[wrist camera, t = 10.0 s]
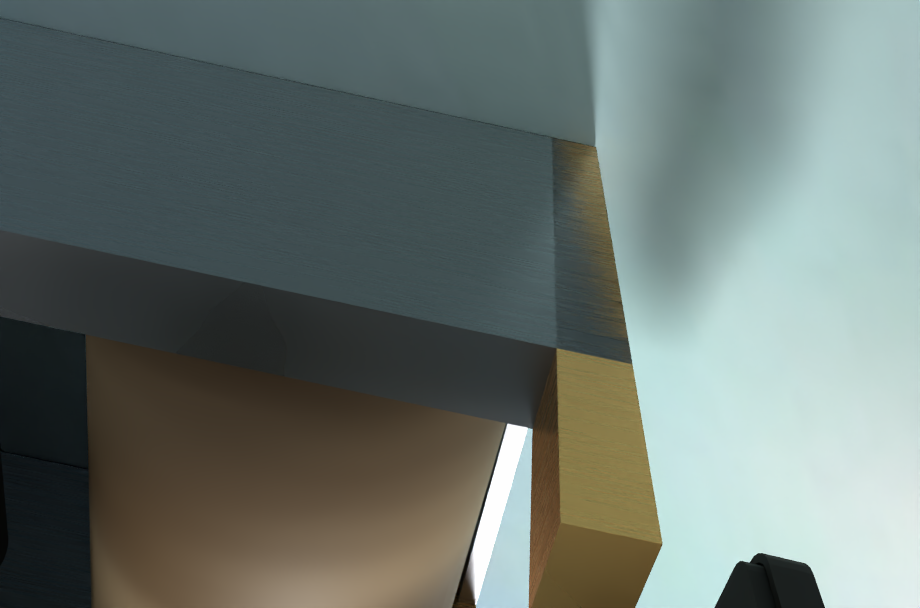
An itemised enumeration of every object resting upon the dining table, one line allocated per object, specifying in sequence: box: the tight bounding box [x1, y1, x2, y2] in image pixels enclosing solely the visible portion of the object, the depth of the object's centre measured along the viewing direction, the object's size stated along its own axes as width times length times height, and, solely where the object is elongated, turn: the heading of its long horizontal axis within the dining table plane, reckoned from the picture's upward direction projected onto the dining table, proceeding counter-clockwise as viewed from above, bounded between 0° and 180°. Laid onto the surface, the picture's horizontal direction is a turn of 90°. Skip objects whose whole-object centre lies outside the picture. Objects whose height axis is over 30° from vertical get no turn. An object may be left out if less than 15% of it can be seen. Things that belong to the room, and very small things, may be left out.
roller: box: [86, 335, 506, 608], centre depth 11 cm, size 5×5×5 cm
